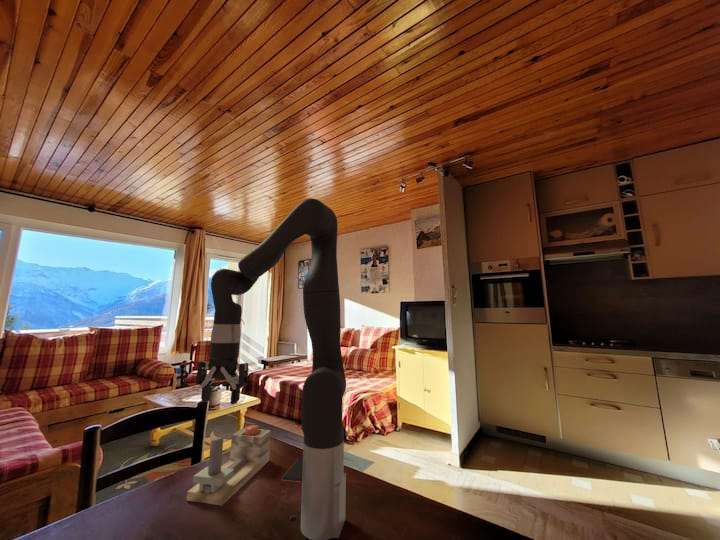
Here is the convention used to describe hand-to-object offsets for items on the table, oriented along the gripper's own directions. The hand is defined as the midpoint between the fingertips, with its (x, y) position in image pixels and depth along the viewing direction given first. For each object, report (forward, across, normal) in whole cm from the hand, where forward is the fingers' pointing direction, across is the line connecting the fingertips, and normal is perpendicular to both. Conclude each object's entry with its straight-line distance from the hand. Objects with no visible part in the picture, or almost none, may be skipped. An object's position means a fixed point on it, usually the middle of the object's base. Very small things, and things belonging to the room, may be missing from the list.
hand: (219, 402), depth 77 cm
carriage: (+20, 0, 0) cm, 20 cm away
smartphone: (+23, -17, -17) cm, 33 cm away
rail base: (+22, 0, -8) cm, 24 cm away
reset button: (+15, 0, -17) cm, 23 cm away
